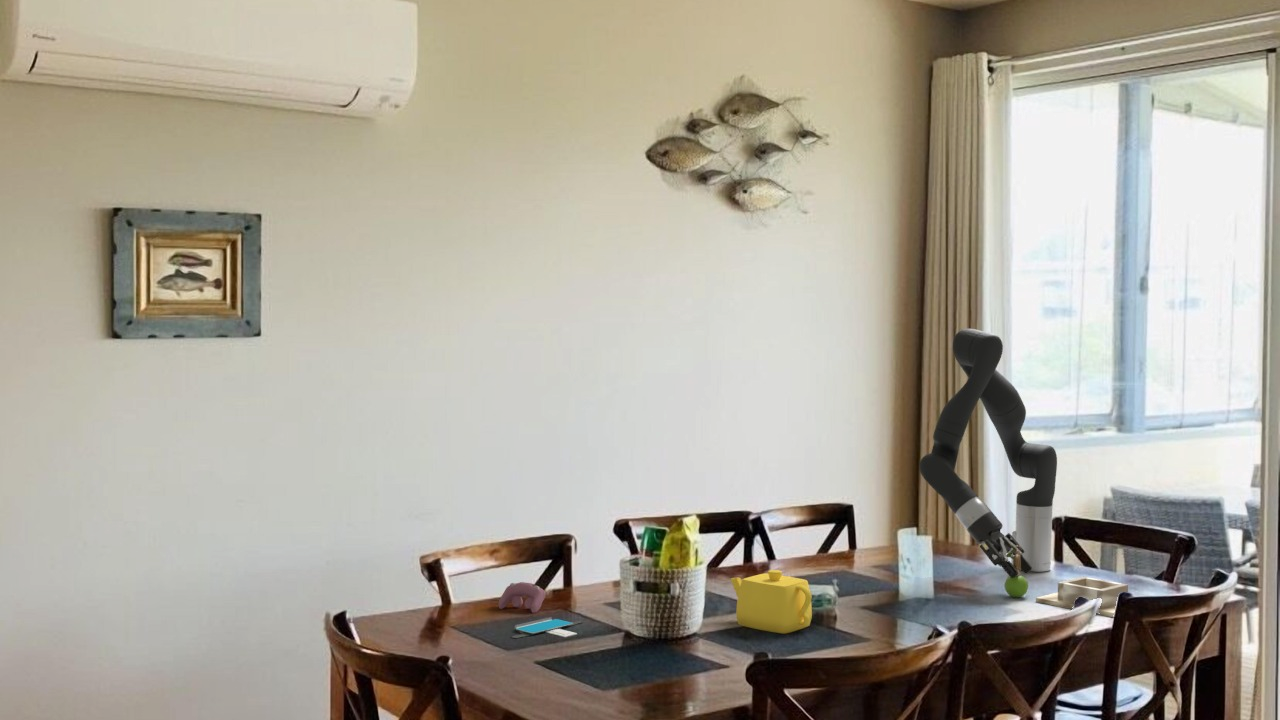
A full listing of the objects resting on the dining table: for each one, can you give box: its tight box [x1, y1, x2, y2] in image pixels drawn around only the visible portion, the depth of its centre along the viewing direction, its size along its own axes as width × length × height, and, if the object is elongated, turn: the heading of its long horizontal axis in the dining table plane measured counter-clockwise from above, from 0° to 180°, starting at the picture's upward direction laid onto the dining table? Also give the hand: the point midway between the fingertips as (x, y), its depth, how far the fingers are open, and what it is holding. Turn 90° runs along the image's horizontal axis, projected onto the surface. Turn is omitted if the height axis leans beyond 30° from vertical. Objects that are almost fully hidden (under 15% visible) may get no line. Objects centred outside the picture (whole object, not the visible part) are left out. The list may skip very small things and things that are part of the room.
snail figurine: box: [1004, 545, 1029, 598], centre depth 324 cm, size 5×6×12 cm
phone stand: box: [511, 616, 583, 639], centre depth 283 cm, size 20×12×2 cm, turn 139°
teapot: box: [730, 569, 813, 634], centre depth 292 cm, size 20×12×12 cm, turn 51°
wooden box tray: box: [1035, 576, 1129, 618], centre depth 317 cm, size 20×16×5 cm
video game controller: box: [498, 581, 546, 614], centre depth 302 cm, size 10×5×7 cm, turn 66°
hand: (1022, 573), depth 323 cm, fingers open, 7 cm apart
